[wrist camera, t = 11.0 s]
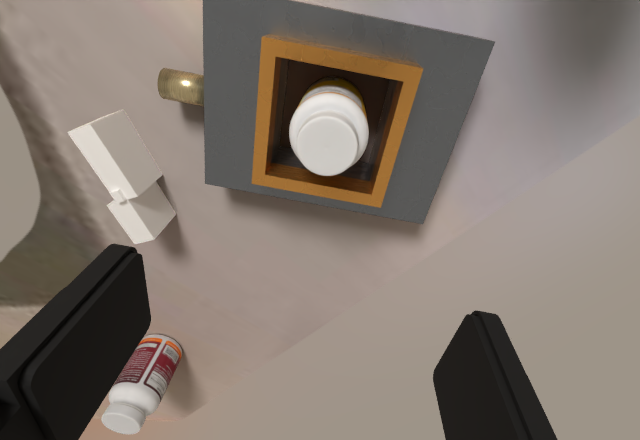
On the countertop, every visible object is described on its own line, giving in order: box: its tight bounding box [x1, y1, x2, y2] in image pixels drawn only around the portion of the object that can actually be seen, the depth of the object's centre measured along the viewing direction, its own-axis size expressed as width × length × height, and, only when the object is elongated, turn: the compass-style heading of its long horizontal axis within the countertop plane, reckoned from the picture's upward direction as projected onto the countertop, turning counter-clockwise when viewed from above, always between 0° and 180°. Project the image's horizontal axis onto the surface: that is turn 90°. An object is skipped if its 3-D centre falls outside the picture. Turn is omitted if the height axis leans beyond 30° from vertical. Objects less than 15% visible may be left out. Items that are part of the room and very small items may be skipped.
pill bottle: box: [101, 334, 182, 434], centre depth 45 cm, size 6×6×11 cm
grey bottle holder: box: [158, 0, 495, 224], centre depth 28 cm, size 24×15×6 cm, turn 80°
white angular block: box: [68, 109, 176, 244], centre depth 33 cm, size 15×11×6 cm
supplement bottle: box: [289, 77, 369, 176], centre depth 26 cm, size 6×6×10 cm
